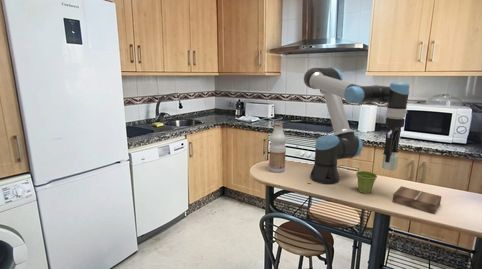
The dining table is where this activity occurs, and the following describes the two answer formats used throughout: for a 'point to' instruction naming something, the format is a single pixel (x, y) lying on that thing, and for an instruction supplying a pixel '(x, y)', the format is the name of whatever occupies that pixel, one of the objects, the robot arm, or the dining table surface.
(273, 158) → the fruit juice
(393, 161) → the sage block
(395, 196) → the walnut board
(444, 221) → the dining table surface
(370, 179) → the plant pot
